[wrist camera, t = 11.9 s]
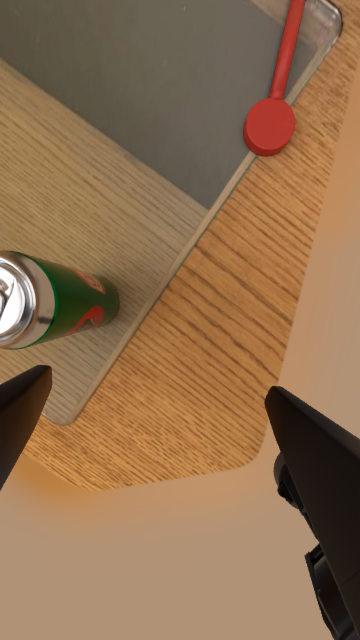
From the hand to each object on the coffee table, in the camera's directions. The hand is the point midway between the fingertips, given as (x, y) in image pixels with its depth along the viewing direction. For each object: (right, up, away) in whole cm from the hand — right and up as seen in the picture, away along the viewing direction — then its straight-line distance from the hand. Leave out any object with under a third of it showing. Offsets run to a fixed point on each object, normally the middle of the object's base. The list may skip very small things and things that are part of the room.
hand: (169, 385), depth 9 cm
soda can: (-8, +5, +13) cm, 16 cm away
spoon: (+10, +25, +11) cm, 29 cm away
